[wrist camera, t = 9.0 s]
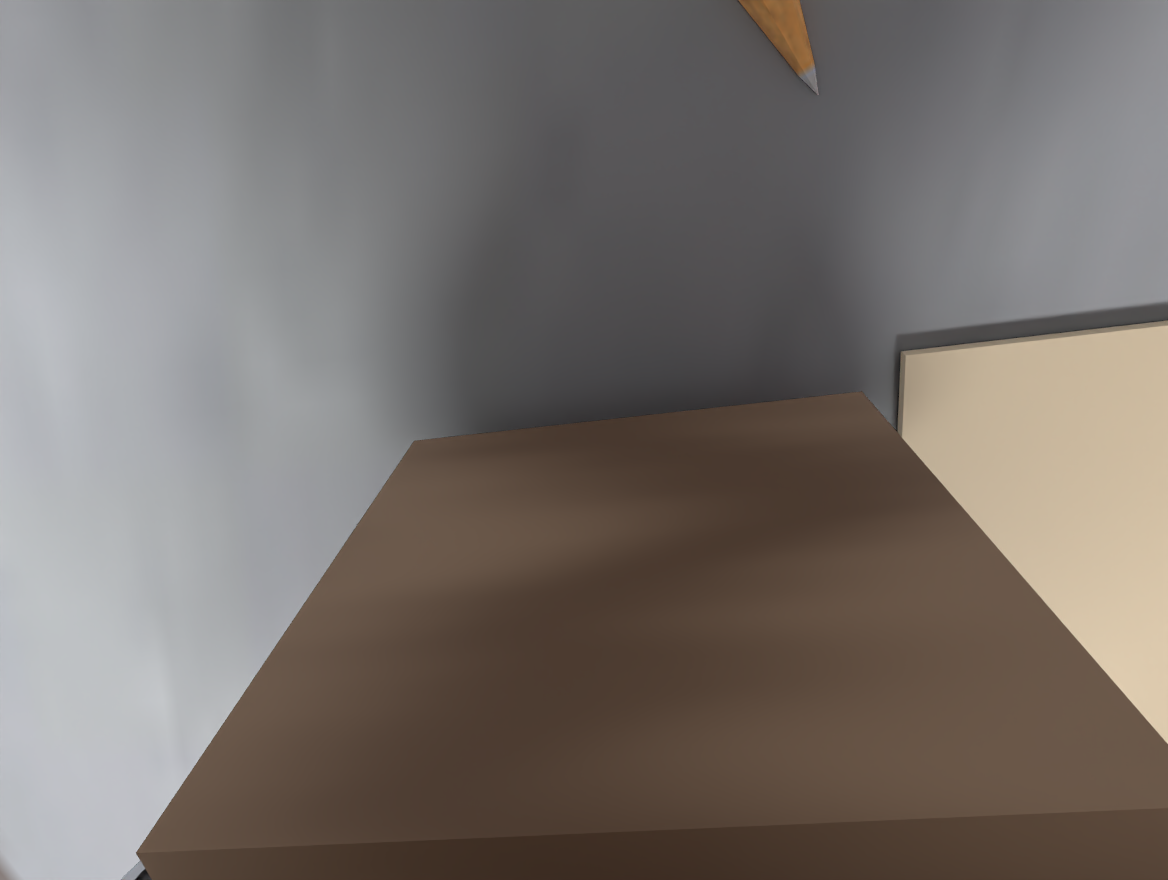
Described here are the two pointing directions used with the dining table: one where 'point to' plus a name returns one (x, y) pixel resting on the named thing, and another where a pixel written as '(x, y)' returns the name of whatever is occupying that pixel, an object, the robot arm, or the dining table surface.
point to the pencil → (786, 34)
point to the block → (674, 678)
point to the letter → (1063, 478)
